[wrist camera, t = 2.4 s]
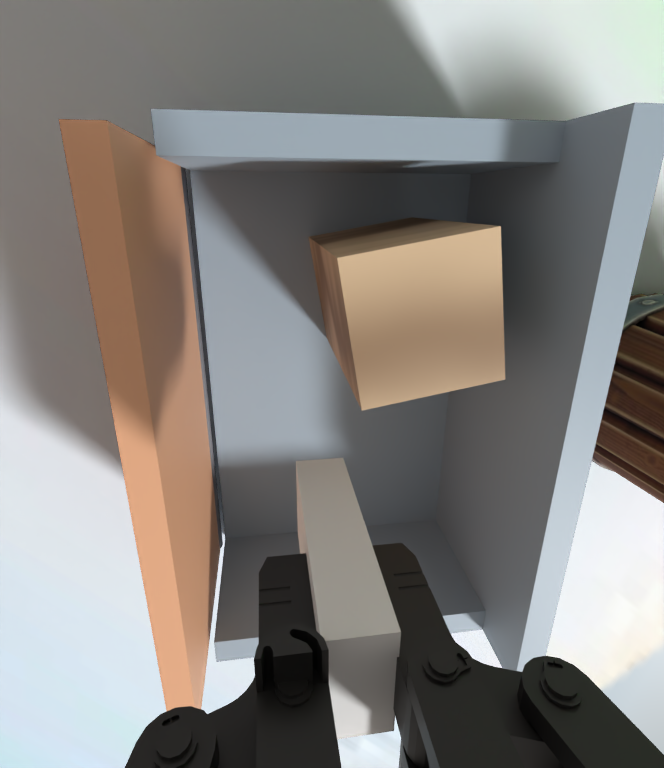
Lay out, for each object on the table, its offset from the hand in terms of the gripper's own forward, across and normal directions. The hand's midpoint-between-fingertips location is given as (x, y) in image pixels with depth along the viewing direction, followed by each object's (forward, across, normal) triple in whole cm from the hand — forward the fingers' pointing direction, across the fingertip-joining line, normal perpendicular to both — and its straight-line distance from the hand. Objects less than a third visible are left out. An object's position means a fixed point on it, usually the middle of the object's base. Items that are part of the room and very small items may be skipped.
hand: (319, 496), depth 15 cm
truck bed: (+12, +3, 0) cm, 12 cm away
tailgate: (+10, -5, 0) cm, 11 cm away
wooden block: (+10, +4, +5) cm, 12 cm away
